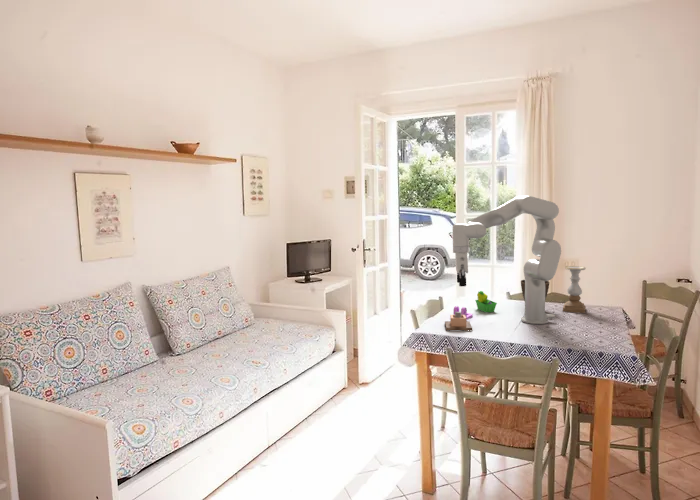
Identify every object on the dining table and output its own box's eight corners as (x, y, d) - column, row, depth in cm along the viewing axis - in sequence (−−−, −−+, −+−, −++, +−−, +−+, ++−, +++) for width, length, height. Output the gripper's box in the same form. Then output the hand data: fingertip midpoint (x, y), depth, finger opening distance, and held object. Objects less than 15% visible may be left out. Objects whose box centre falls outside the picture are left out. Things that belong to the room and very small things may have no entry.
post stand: (469, 324, 244) (469, 309, 243) (472, 331, 232) (472, 315, 231) (444, 324, 245) (444, 309, 244) (446, 330, 233) (446, 315, 233)
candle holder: (585, 308, 270) (586, 266, 268) (584, 313, 261) (586, 269, 258) (564, 307, 275) (565, 265, 273) (562, 311, 266) (563, 268, 263)
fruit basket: (497, 312, 267) (497, 291, 266) (482, 313, 265) (482, 293, 264) (486, 307, 278) (486, 288, 277) (472, 309, 276) (472, 289, 275)
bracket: (463, 321, 250) (463, 308, 249) (453, 320, 253) (453, 306, 253) (474, 316, 260) (474, 303, 259) (464, 315, 264) (464, 302, 263)
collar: (464, 322, 242) (464, 314, 241) (466, 326, 235) (466, 318, 234) (450, 322, 242) (450, 314, 242) (451, 326, 235) (451, 318, 235)
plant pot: (553, 312, 263) (553, 283, 261) (525, 313, 263) (525, 284, 262) (542, 306, 278) (543, 278, 276) (516, 307, 278) (516, 279, 276)
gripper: (471, 251, 227) (471, 287, 229) (466, 247, 244) (467, 280, 246) (454, 251, 228) (455, 287, 230) (451, 247, 245) (451, 281, 247)
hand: (461, 284), depth 238 cm, fingers open, 9 cm apart
